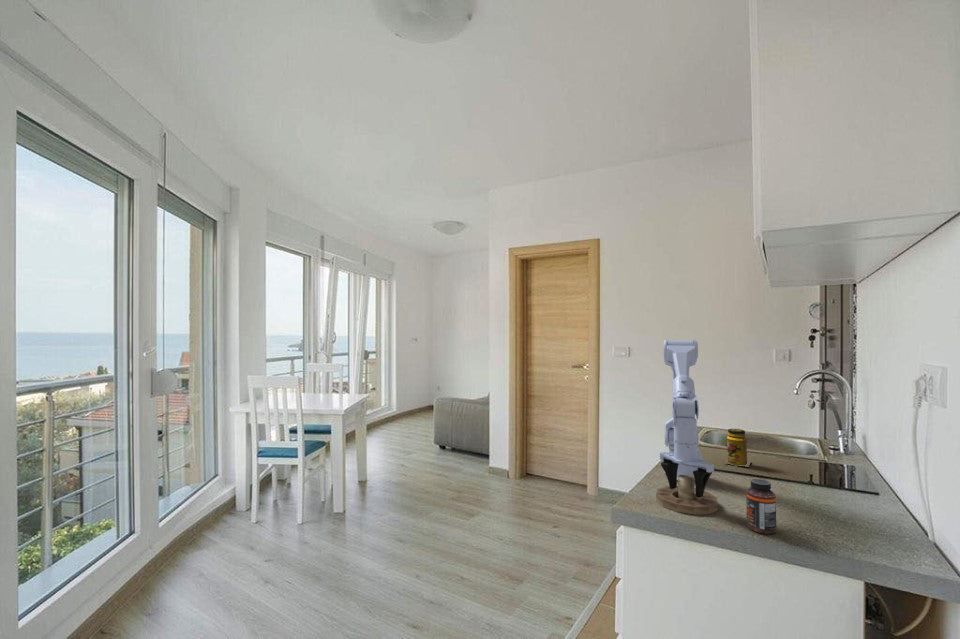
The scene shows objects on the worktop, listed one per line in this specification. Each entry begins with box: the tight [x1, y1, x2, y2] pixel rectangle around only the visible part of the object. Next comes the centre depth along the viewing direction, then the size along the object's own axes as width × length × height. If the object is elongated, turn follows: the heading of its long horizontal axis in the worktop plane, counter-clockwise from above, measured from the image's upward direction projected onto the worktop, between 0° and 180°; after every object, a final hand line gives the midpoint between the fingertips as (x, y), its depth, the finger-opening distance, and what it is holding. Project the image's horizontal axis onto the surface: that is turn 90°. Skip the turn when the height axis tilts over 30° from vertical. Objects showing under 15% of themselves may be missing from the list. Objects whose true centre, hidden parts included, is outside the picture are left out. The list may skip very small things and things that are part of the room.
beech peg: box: [677, 475, 695, 501], centre depth 122 cm, size 4×4×7 cm
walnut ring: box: [655, 485, 719, 515], centre depth 122 cm, size 15×15×2 cm
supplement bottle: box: [745, 478, 777, 535], centre depth 106 cm, size 6×6×11 cm
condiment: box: [726, 428, 748, 465], centre depth 158 cm, size 7×8×12 cm
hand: (686, 492), depth 122 cm, fingers open, 7 cm apart
